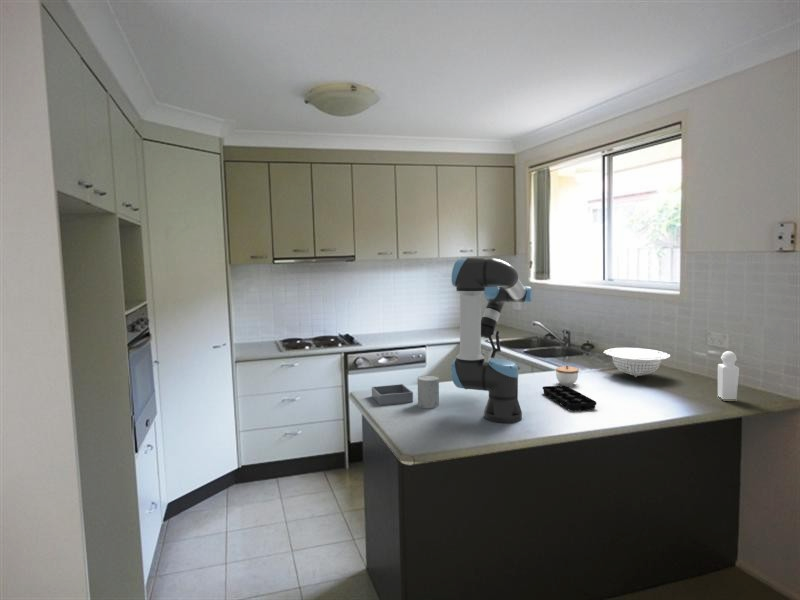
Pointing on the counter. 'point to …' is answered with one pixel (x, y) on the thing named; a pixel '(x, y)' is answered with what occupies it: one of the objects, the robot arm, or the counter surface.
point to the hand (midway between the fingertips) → (474, 359)
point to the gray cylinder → (428, 391)
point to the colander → (636, 359)
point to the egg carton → (569, 398)
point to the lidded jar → (567, 375)
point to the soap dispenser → (728, 376)
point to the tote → (392, 394)
